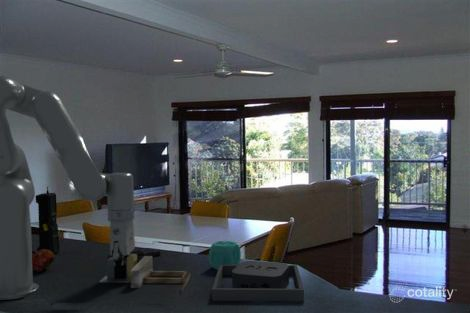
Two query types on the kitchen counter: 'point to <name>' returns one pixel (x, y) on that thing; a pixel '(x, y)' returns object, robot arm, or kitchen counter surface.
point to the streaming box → (260, 275)
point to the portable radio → (48, 222)
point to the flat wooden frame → (145, 271)
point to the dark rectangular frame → (256, 289)
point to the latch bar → (128, 261)
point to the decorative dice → (224, 254)
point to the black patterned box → (142, 254)
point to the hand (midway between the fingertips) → (122, 276)
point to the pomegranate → (42, 260)
